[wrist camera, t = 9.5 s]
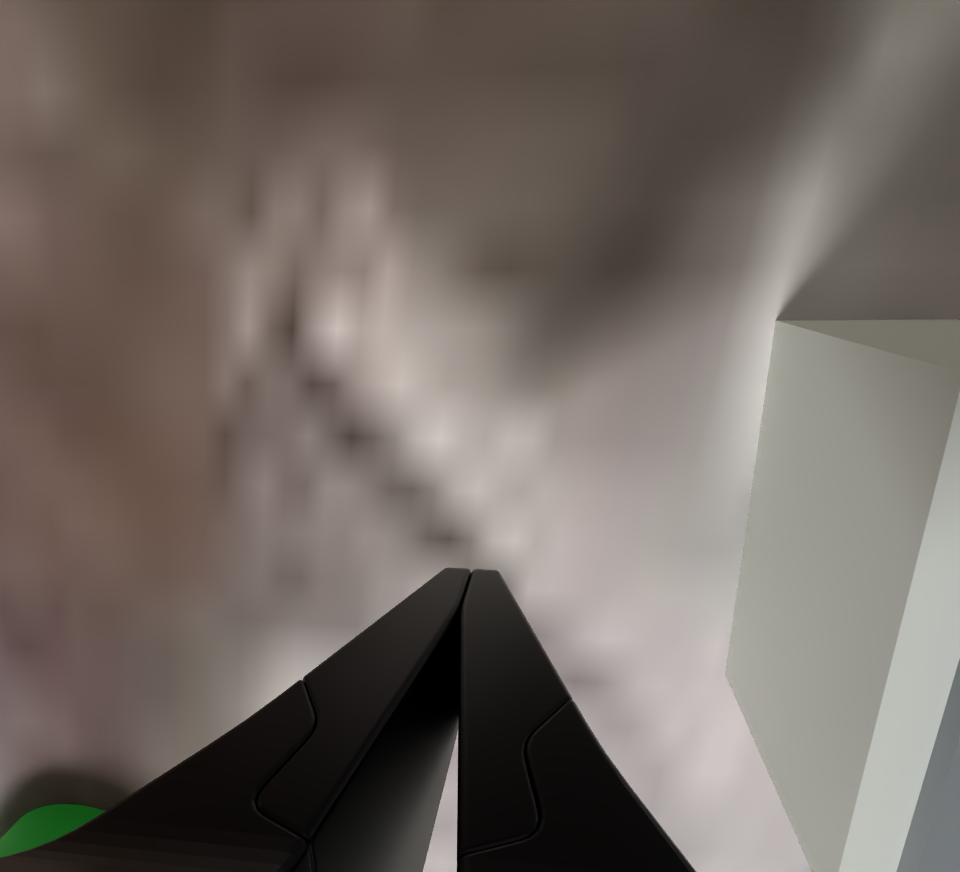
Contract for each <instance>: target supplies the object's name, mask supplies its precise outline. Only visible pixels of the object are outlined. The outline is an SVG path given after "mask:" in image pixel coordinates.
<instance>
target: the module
mask: <svg viewBox="0 0 960 872" xmlns="http://www.w3.org/2000/svg"><path fill="white" fill-rule="evenodd" d="M725 675H726V677H727V680H728V682H729V684H730V686H731V689H732V691H733V693H734V695H735V698H736V700H737V702H738V704H739V707H740V709H741V711H742V714H743V716H744V718H745V720H746V723H747V725H748V727H749V729H750V732H751V734H752V736H753V738H754V741H755V743H756V745H757V748H758V750H759V752H760V754H761V757H762V759H763V761H764V763H765V766H766V768H767V770H768V773H769V775H770V777H771V779H772V782H773V784H774V786H775V788H776V791H777V793H778V795H779V797H780V800H781V802H782V804H783V807H784V809H785V811H786V813H787V816H788V818H789V820H790V822H791V825H792V827H793V829H794V831H795V834H796V836H797V838H798V841H799V843H800V845H801V847H802V850H803V852H804V854H805V856H806V859H807V861H808V863H809V865H810V868H811V870H812V872H960V319H939V320H776V322H775V329H774V336H773V343H772V350H771V357H770V364H769V371H768V378H767V385H766V392H765V399H764V406H763V413H762V420H761V427H760V434H759V441H758V448H757V455H756V462H755V469H754V476H753V483H752V490H751V497H750V504H749V511H748V518H747V525H746V532H745V539H744V546H743V553H742V560H741V567H740V574H739V581H738V588H737V595H736V602H735V609H734V616H733V623H732V630H731V637H730V644H729V651H728V658H727V665H726V672H725Z"/></svg>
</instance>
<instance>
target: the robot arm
mask: <svg viewBox="0 0 960 872" xmlns="http://www.w3.org/2000/svg"><path fill="white" fill-rule="evenodd" d="M457 732H458V818H457V872H696V871H695V870H694V868H693V867H692V866H691V864H690V863H689V862H688V861H687V859H686V858H685V857H684V855H683V854H682V853H681V851H680V850H679V849H678V848H677V846H676V845H675V844H674V842H673V841H672V840H671V839H670V837H669V836H668V835H667V833H666V832H665V831H664V830H663V828H662V827H661V826H660V824H659V823H658V822H657V820H656V819H655V818H654V817H653V815H652V814H651V813H650V811H649V810H648V809H647V808H646V806H645V805H644V804H643V802H642V801H641V800H640V799H639V797H638V796H637V795H636V793H635V792H634V791H633V789H632V788H631V787H630V785H629V784H628V783H627V781H626V780H625V779H624V777H623V776H622V775H621V773H620V772H619V770H618V769H617V768H616V766H615V765H614V764H613V762H612V761H611V760H610V758H609V757H608V755H607V754H606V753H605V751H604V750H603V748H602V746H601V745H600V743H599V742H598V740H597V738H596V737H595V735H594V734H593V732H592V731H591V729H590V727H589V726H588V724H587V723H586V721H585V719H584V717H583V716H582V714H581V712H580V711H579V709H578V707H577V705H576V704H575V702H574V701H572V697H571V695H570V694H569V692H568V690H567V689H566V687H565V685H564V683H563V682H562V680H561V678H560V676H559V675H558V673H557V671H556V669H555V668H554V666H553V664H552V663H551V661H550V659H549V657H548V656H547V654H546V652H545V650H544V649H543V647H542V645H541V644H540V642H539V640H538V638H537V637H536V635H535V633H534V631H533V630H532V628H531V626H530V624H529V623H528V621H527V619H526V618H525V616H524V614H523V612H522V611H521V609H520V607H519V605H518V604H517V602H516V600H515V599H514V597H513V595H512V593H511V592H510V590H509V588H508V586H507V585H506V583H505V581H504V579H503V578H502V576H501V574H500V573H499V572H498V571H497V570H483V569H475V570H473V572H471V570H469V569H464V568H445V569H444V570H442V571H441V572H440V573H438V574H437V575H436V576H434V577H433V578H432V579H431V580H429V581H428V582H427V583H425V584H424V585H423V586H421V587H420V588H419V589H418V590H416V591H415V592H414V593H412V594H411V595H410V596H408V597H407V598H406V599H405V600H403V601H402V602H401V603H399V604H398V605H397V606H395V607H394V608H393V609H392V610H390V611H389V612H388V613H386V614H385V615H384V616H382V617H381V618H380V619H379V620H377V621H376V622H375V623H373V624H372V625H371V626H369V627H368V628H367V629H366V630H364V631H363V632H362V633H360V634H359V635H358V636H356V637H355V638H354V639H353V640H351V641H350V642H349V643H347V644H346V645H345V646H343V647H342V648H341V649H340V650H338V651H337V652H336V653H334V654H333V655H332V656H330V657H329V658H328V659H327V660H325V661H324V662H323V663H321V664H320V665H319V666H317V667H316V668H315V669H313V670H312V671H311V672H310V673H308V674H307V675H306V676H304V678H303V681H302V680H299V681H298V682H296V683H295V684H294V685H292V686H291V687H290V688H288V689H287V690H286V691H285V692H283V693H282V694H281V695H279V696H278V697H277V698H275V699H274V700H273V701H271V702H270V703H268V704H267V705H266V706H264V707H263V708H262V709H260V710H259V711H257V712H256V713H255V714H253V715H252V716H251V717H249V718H248V719H246V720H245V721H244V722H242V723H241V724H239V725H238V726H236V727H235V728H233V729H232V730H230V731H229V732H227V733H226V734H224V735H223V736H221V737H220V738H218V739H217V740H215V741H214V742H212V743H211V744H209V745H208V746H206V747H205V748H203V749H202V750H200V751H198V752H197V753H195V754H194V755H192V756H191V757H189V758H187V759H186V760H184V761H183V762H181V763H180V764H178V765H177V766H175V767H173V768H172V769H170V770H169V771H167V772H166V773H164V774H163V775H161V776H159V777H158V778H156V779H155V780H153V781H152V782H150V783H148V784H147V785H145V786H144V787H142V788H141V789H139V790H138V791H136V792H134V793H133V794H131V795H130V796H128V797H127V798H125V799H123V800H122V801H120V802H119V803H117V804H116V805H114V806H113V807H111V808H109V809H108V810H106V811H105V812H103V813H102V814H100V815H98V816H97V817H95V818H94V819H92V820H90V821H89V822H87V823H85V824H83V825H82V826H80V827H78V828H77V829H75V830H73V831H71V832H69V833H67V834H65V835H63V836H61V837H59V838H57V839H55V840H53V841H50V842H48V843H45V844H43V845H40V846H38V847H35V848H33V849H30V850H26V851H23V852H19V853H16V854H13V855H9V856H5V857H0V872H422V871H423V867H424V864H425V860H426V856H427V852H428V848H429V844H430V840H431V836H432V832H433V828H434V824H435V820H436V816H437V812H438V808H439V804H440V800H441V796H442V792H443V788H444V784H445V780H446V776H447V772H448V768H449V764H450V760H451V756H452V752H453V748H454V744H455V740H456V736H457Z"/></svg>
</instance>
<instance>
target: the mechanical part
mask: <svg viewBox="0 0 960 872" xmlns="http://www.w3.org/2000/svg"><path fill="white" fill-rule="evenodd" d="M103 812H105V811H104V810H101V809H98V808H94V807H89V806H84V805H77V804H55V805H48V806H43V807H40V808H37V809H34V810H32V811H30V812H28V813H26V814H25V815H23V816H22V817H21V818H20V819H19V820H18V821H17V822H16V823H15V824H14V825H13V826H12V827H11V828H10V829H9V830H8V831H7V832H6V834H5V835H4V836H3V837H2V838H1V839H0V857H5V856H9V855H13V854H16V853H19V852H23V851H26V850H30V849H33V848H35V847H38V846H40V845H43V844H45V843H48V842H50V841H53V840H55V839H57V838H59V837H61V836H63V835H65V834H67V833H69V832H71V831H73V830H75V829H77V828H78V827H80V826H82V825H83V824H85V823H87V822H89V821H90V820H92V819H94V818H95V817H97V816H98V815H100V814H102V813H103Z"/></svg>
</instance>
